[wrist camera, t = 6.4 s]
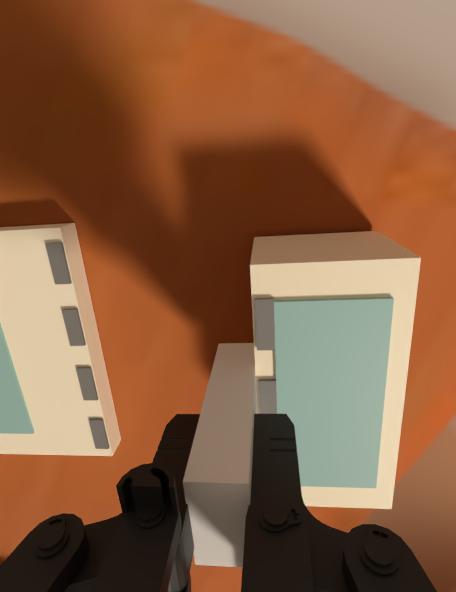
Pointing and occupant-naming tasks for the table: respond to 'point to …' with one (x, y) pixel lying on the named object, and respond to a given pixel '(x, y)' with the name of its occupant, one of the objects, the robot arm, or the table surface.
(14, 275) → the cream teal-inset panel
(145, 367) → the table surface
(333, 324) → the stub
